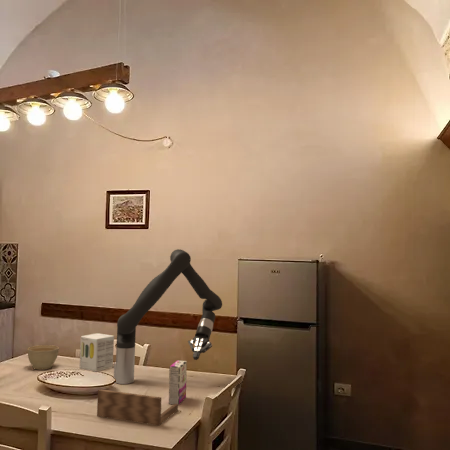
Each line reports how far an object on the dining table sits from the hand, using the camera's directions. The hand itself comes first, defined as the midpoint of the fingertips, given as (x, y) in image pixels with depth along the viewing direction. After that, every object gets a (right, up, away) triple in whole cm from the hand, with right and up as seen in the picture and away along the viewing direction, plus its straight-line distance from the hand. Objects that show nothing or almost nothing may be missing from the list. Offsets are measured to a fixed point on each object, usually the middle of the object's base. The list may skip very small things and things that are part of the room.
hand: (195, 359), depth 227 cm
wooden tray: (-21, -11, -37) cm, 44 cm away
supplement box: (-57, -14, +32) cm, 67 cm away
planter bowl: (-85, -13, +29) cm, 91 cm away
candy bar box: (-7, -13, -20) cm, 25 cm away
